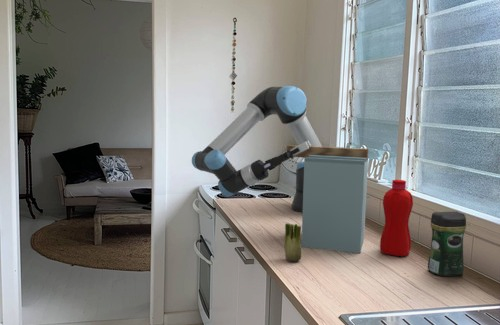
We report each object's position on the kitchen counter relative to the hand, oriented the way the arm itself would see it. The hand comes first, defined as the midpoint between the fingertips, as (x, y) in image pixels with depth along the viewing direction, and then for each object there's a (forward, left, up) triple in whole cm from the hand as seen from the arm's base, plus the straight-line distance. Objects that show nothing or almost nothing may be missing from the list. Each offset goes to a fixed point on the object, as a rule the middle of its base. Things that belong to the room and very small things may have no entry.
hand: (308, 144), depth 171 cm
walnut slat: (-3, +6, -5) cm, 8 cm away
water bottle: (-10, +32, -35) cm, 48 cm away
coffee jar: (-4, +52, -35) cm, 63 cm away
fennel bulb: (+24, +16, -35) cm, 45 cm away
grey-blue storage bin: (-2, +12, -35) cm, 37 cm away
